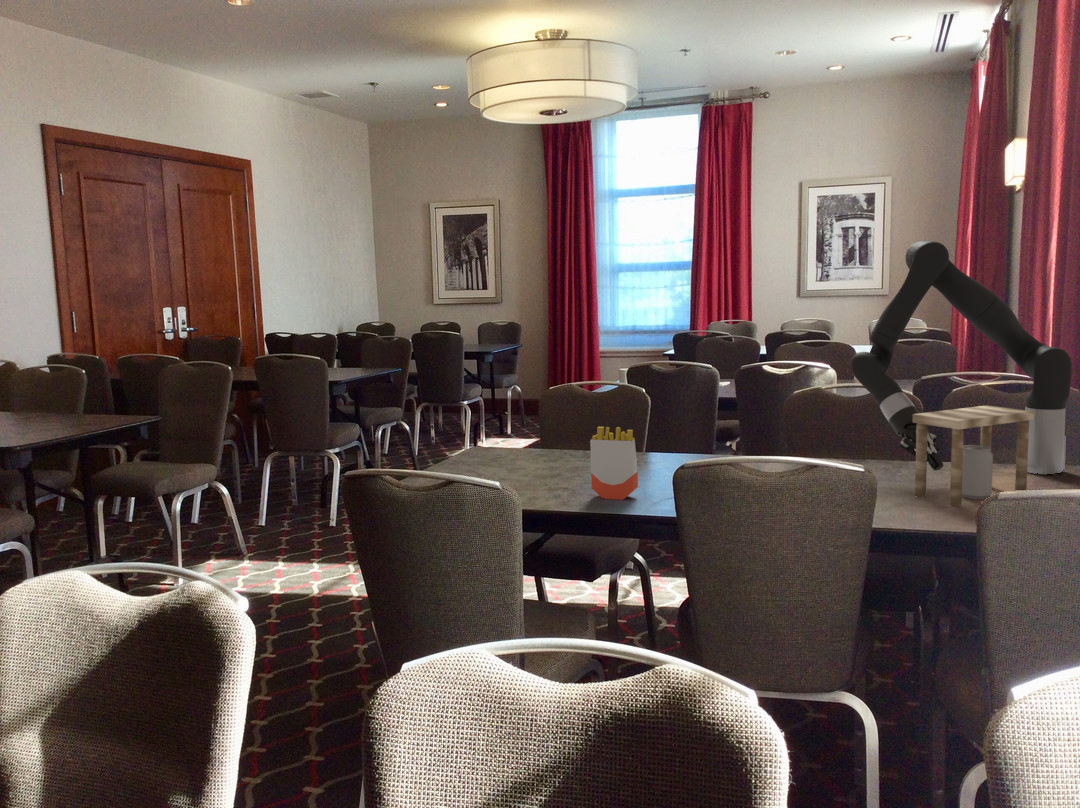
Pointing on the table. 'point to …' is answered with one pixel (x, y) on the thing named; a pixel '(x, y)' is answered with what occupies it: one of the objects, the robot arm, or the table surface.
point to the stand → (958, 423)
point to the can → (977, 471)
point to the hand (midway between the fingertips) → (939, 468)
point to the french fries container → (613, 464)
